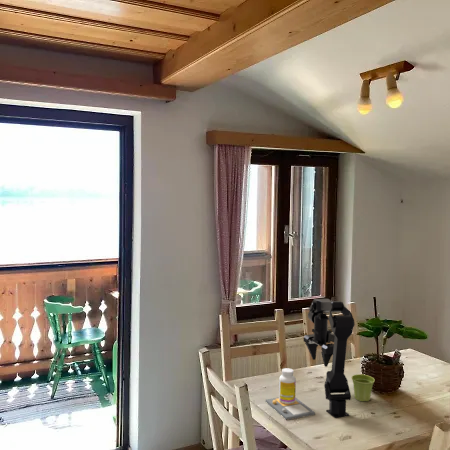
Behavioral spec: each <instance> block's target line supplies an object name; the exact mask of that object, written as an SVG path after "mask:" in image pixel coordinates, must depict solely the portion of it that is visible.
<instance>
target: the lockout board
mask: <svg viewBox="0 0 450 450" xmlns="http://www.w3.org/2000/svg"><path fill="white" fill-rule="evenodd" d="M266 402H267V403H268V404H267V403H266ZM265 403H266V404H267V405H269V407H270V408H272V409H273V410H274V409H275V410H276V411H277V413H278V415H280V416H281V415H282V416H283V417H284V418H285V419H284V418H283V417H282V416H281V417H282V418H283V419H284V420H286V419H289V420H293V419H292V418H294V419H299V418H298V417H300V418H303V416H305V417H309V415H310V416H315V415H316V412H315V411H314V410H313V409H311V408H310V407H309V406H307V404H305V403H303V402H302V401H301V400H300V399H298V397H296V396H295V402H294V403H292V404H284V403H281V402H280V401H279V396H278V397H273V398H268V399H265ZM275 410H274V411H275ZM276 411H275V412H276Z"/></svg>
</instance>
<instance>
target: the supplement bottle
mask: <svg viewBox="0 0 450 450" xmlns="http://www.w3.org/2000/svg"><path fill="white" fill-rule="evenodd" d="M294 372H295V371H294V369H292V368H289V367H287V368H286V367H284V368H282V369H281V375H280V376H279V379H278V381H279V382H278V397H279V401H280V402H281V403H284V404H292V403H294V402H295V397H296V391H297V390H296V387H297V385H296V381H297V379H296V377H295V376H294Z"/></svg>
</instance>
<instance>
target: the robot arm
mask: <svg viewBox="0 0 450 450" xmlns="http://www.w3.org/2000/svg"><path fill="white" fill-rule="evenodd" d="M310 304H311V305H310V306H309V309H308V310H309V311H308V313H307V318H308V320H309V321H311V323H313V328H312V329H311V332H312V334H305V335H304V336H303V342H304V345H306V347H307V349H308V352H309V354H310V356H311V359H312V360H313V361H315V360H316V358H317V352H318V351H317V348H318V346H320V347H321V349H320V350H321V352H320V353H321V358H322V361H323V366H324V368H327V367H328V366H329V363H330V362H331V358H332V362H331V369H330V370H327V372H326V377H325V381H324V385H323V386H324V394H325V399H326V400H328V401H329V406H328V407H329V409H326V412H327V413H328V414H329V415H330V416H332V417H333V418H334V419H338V418H342V417H349V416H350V413H348V412H347V401H351V399H352V394H351V390H350V386H349V382H348V379H347V377H346V374H345V367H346V365H345V364H346V357H347V355H346V354H347V346H348V345H347V343H348V340H349V338H350V337H351V336H352V335H353V331H354V328H355V325H356V324H355V319H354V316H353V314H352V312H351V311H350V309H348V308H347V307H346V306H345V305H344V302H343V301H341V300H339V301H338V300H334V301H333V300H331V299H329V298H314V299H313V300H312V302H311V303H310ZM333 312H334V313H336V312H338V313H341V314H342V315H341V314H339V315H333ZM327 313H329V314H328V315H329V316H328V315H327ZM329 324H330V329H331V330H329V329H328V328H329V327H328V326H329Z"/></svg>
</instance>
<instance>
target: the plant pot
mask: <svg viewBox="0 0 450 450" xmlns="http://www.w3.org/2000/svg"><path fill="white" fill-rule="evenodd" d="M351 381H352V383H353V393H354V394H353V395H354V399H355V400H357V401H360V402H369V401H370V400H371V394H372V390H373V386H374V383H375V382H376V381H375V378H374V377H372V376H370V375H367V374H363V373H362V374H358V373H357V374H353V375H351Z"/></svg>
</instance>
